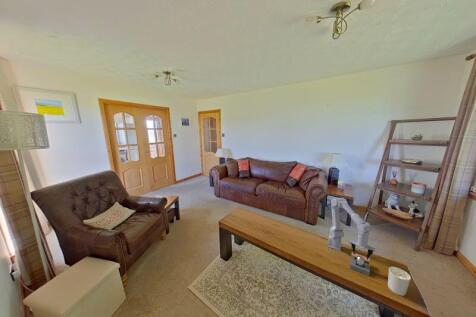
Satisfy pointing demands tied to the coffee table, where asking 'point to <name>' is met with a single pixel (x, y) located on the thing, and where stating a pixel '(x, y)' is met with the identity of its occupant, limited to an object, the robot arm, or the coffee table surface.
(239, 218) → the coffee table surface
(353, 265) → the socket block
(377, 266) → the coffee table surface
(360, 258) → the metal peg
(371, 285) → the coffee table surface
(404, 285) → the candle holder
